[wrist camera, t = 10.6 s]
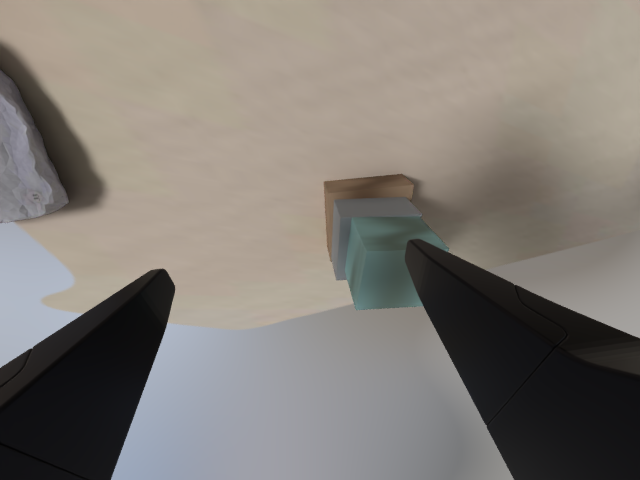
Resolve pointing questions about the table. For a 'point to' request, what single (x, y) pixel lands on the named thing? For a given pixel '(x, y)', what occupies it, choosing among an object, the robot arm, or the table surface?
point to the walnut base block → (363, 193)
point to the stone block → (24, 162)
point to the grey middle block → (361, 208)
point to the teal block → (384, 260)
